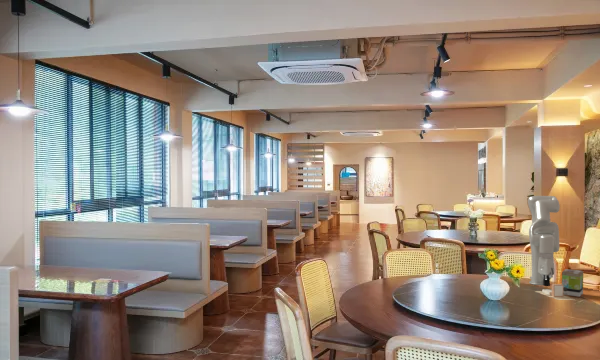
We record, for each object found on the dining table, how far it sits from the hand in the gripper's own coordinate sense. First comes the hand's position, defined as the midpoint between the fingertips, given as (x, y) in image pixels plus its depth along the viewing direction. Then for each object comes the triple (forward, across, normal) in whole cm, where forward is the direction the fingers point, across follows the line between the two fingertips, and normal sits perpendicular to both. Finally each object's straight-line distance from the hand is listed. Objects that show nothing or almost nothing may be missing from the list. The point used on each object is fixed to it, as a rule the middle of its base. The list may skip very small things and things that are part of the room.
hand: (546, 285), depth 279 cm
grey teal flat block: (+3, 0, 0) cm, 3 cm away
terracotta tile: (+4, +10, 0) cm, 11 cm away
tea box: (+6, +2, +15) cm, 16 cm away
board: (+5, +7, 0) cm, 9 cm away
